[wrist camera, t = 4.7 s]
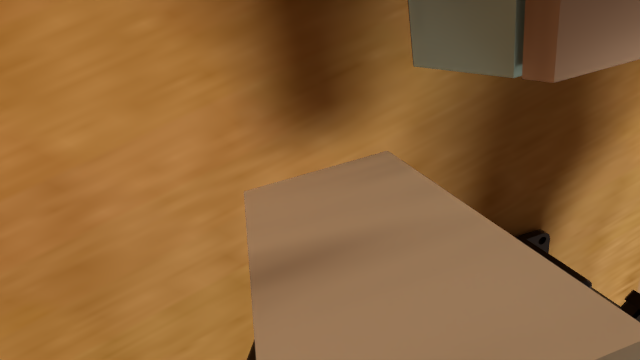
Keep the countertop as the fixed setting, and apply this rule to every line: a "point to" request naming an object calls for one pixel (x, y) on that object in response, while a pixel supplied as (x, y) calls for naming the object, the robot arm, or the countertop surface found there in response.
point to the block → (409, 277)
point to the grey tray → (468, 35)
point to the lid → (578, 37)
